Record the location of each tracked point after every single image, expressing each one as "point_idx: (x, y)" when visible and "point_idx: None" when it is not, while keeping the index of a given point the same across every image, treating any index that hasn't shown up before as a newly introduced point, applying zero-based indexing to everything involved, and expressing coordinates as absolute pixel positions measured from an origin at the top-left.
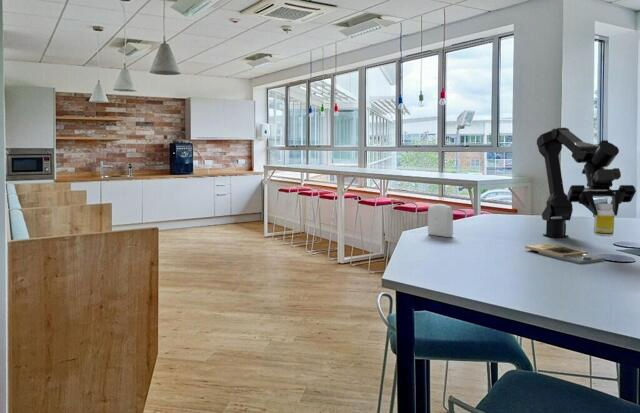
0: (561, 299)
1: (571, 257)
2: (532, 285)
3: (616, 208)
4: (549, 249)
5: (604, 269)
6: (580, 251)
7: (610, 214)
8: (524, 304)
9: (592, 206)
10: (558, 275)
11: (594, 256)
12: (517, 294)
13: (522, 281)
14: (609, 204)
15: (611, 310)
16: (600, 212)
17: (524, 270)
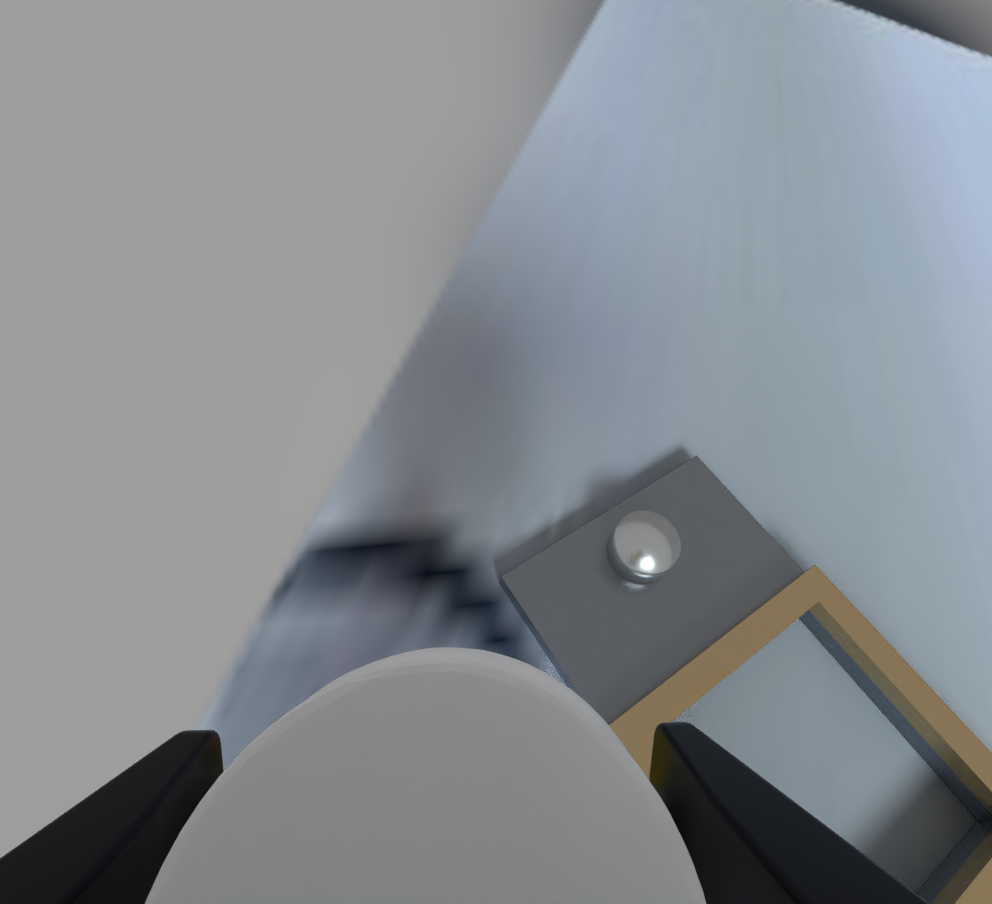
0: (774, 57)
1: (746, 575)
2: (874, 146)
3: (84, 839)
4: (966, 876)
5: (568, 356)
6: None
7: (377, 663)
8: (860, 34)
9: (881, 869)
10: (798, 251)
11: (566, 633)
12: (897, 84)
13: (919, 181)
14: (308, 803)
15: (656, 7)
16: (592, 715)
17: (960, 317)
